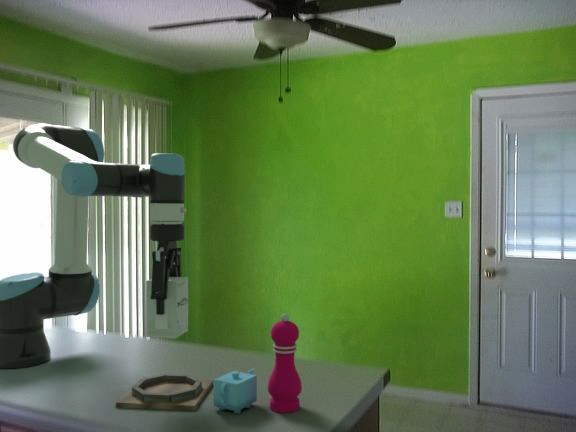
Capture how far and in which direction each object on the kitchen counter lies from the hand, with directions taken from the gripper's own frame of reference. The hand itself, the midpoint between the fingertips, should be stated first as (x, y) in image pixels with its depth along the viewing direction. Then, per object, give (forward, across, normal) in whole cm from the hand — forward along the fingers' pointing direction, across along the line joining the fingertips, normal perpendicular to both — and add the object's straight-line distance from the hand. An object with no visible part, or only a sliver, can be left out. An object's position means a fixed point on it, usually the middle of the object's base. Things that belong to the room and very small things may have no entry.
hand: (167, 324), depth 124 cm
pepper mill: (+16, -5, -27) cm, 32 cm away
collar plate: (+16, 0, 0) cm, 16 cm away
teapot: (+16, -5, -17) cm, 24 cm away
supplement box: (+2, 0, 0) cm, 2 cm away
